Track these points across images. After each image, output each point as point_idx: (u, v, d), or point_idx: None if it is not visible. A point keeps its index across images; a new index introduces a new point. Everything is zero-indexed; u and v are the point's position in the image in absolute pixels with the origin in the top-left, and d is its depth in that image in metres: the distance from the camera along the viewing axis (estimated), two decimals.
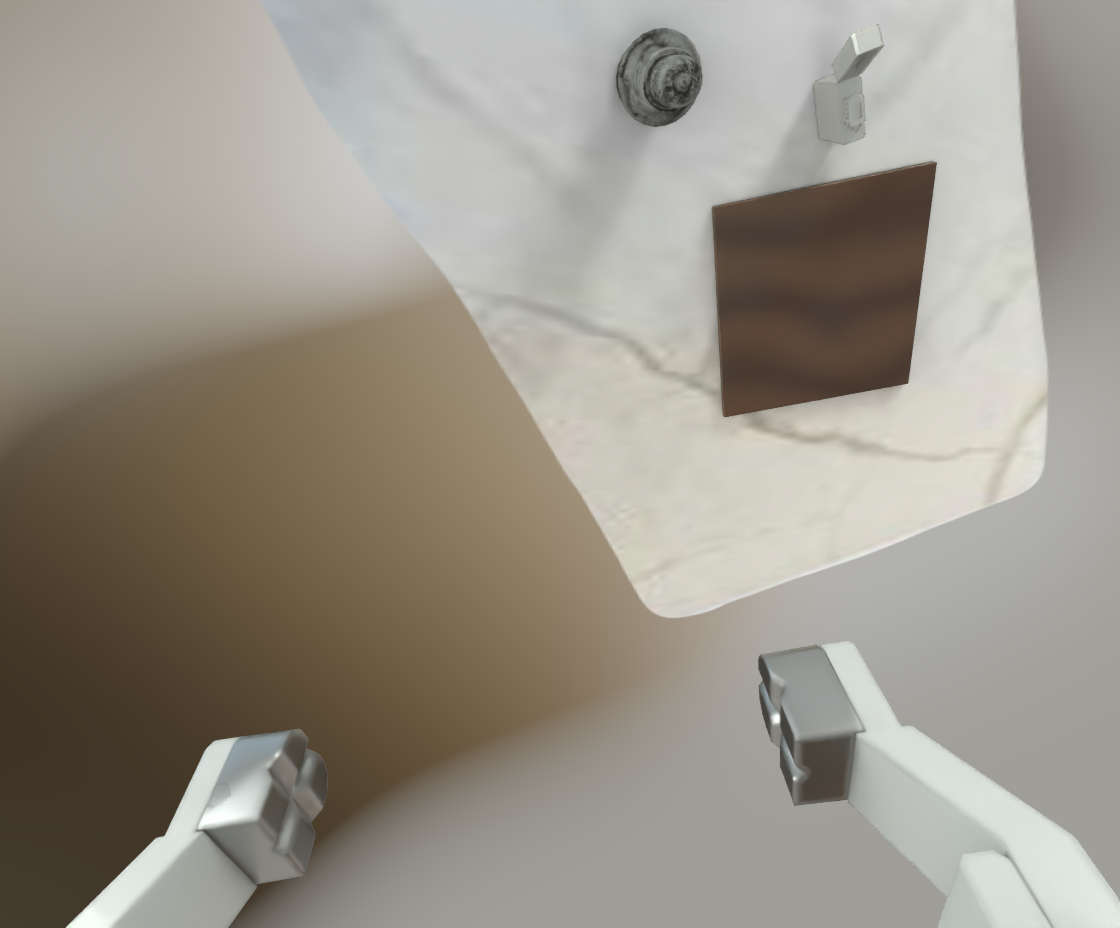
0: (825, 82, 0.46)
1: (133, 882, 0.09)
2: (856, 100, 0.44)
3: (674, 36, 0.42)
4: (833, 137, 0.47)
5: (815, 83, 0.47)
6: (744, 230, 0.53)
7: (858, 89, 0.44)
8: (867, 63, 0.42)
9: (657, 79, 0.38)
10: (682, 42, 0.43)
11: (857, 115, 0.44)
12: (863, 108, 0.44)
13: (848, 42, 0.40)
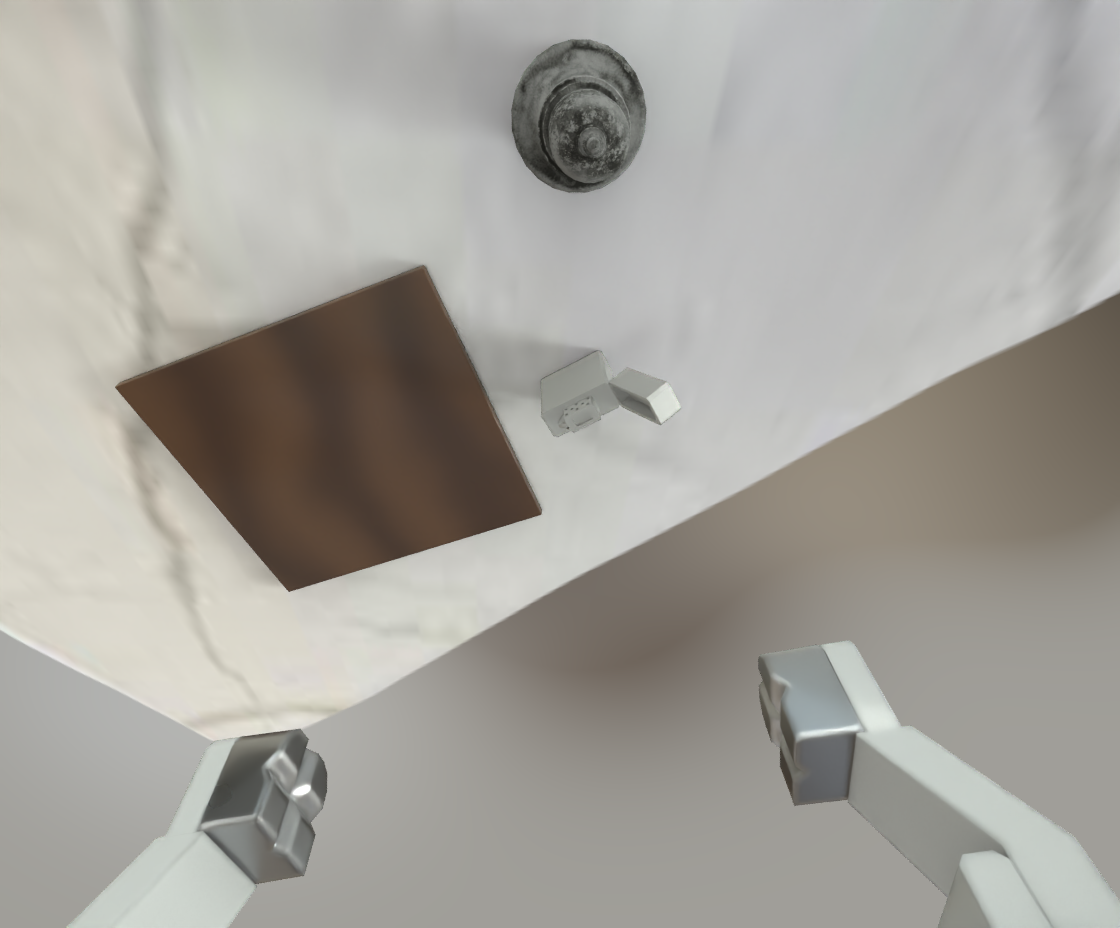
0: (604, 365, 0.35)
1: (133, 882, 0.09)
2: (593, 413, 0.33)
3: (637, 129, 0.27)
4: (546, 399, 0.35)
5: (599, 353, 0.37)
6: (405, 323, 0.35)
7: (604, 409, 0.34)
8: (635, 410, 0.33)
9: (588, 93, 0.21)
10: (630, 145, 0.28)
11: (577, 421, 0.34)
12: (586, 424, 0.34)
13: (657, 382, 0.31)
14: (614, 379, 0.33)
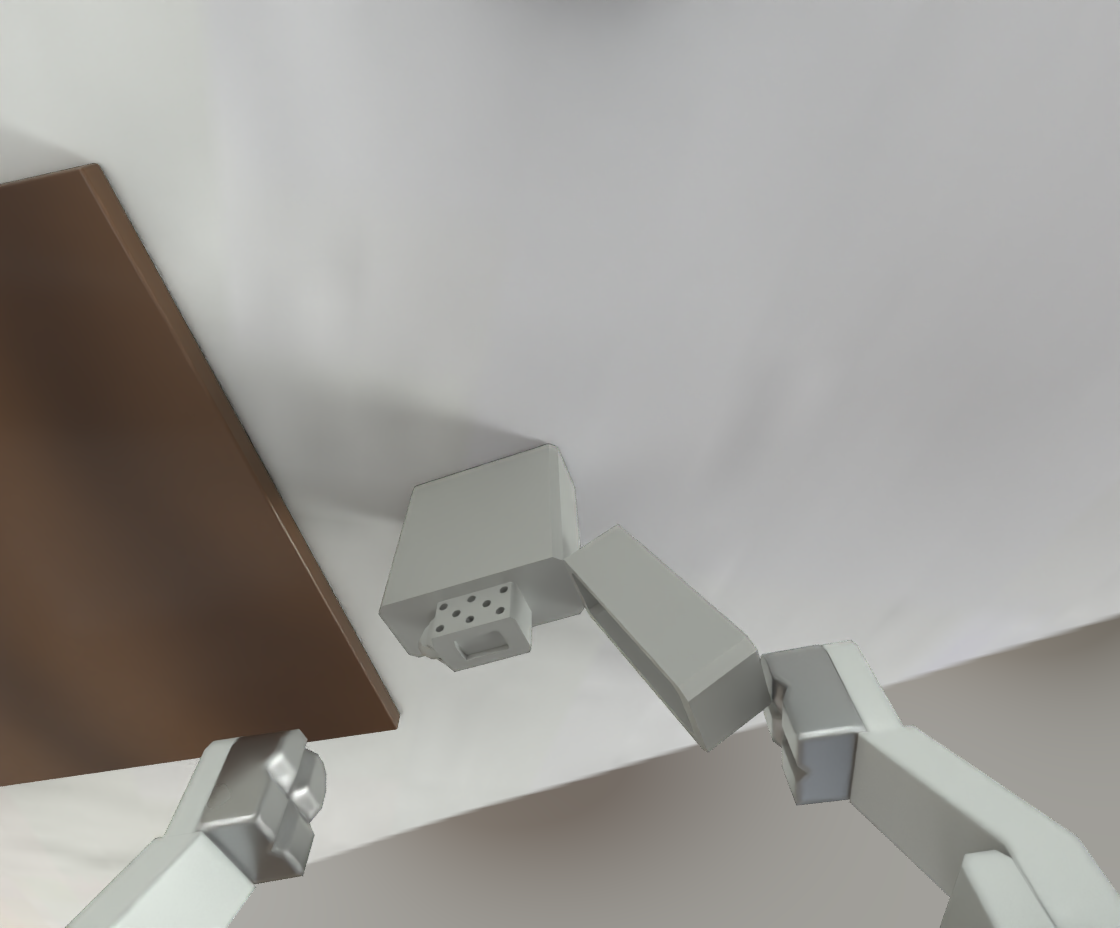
0: (558, 492, 0.14)
1: (132, 882, 0.09)
2: (513, 636, 0.12)
3: None
4: (405, 557, 0.14)
5: (552, 451, 0.16)
6: (50, 315, 0.13)
7: (544, 614, 0.13)
8: (627, 654, 0.12)
9: None
10: None
11: (467, 646, 0.13)
12: (490, 654, 0.13)
13: (716, 624, 0.10)
14: (580, 555, 0.12)
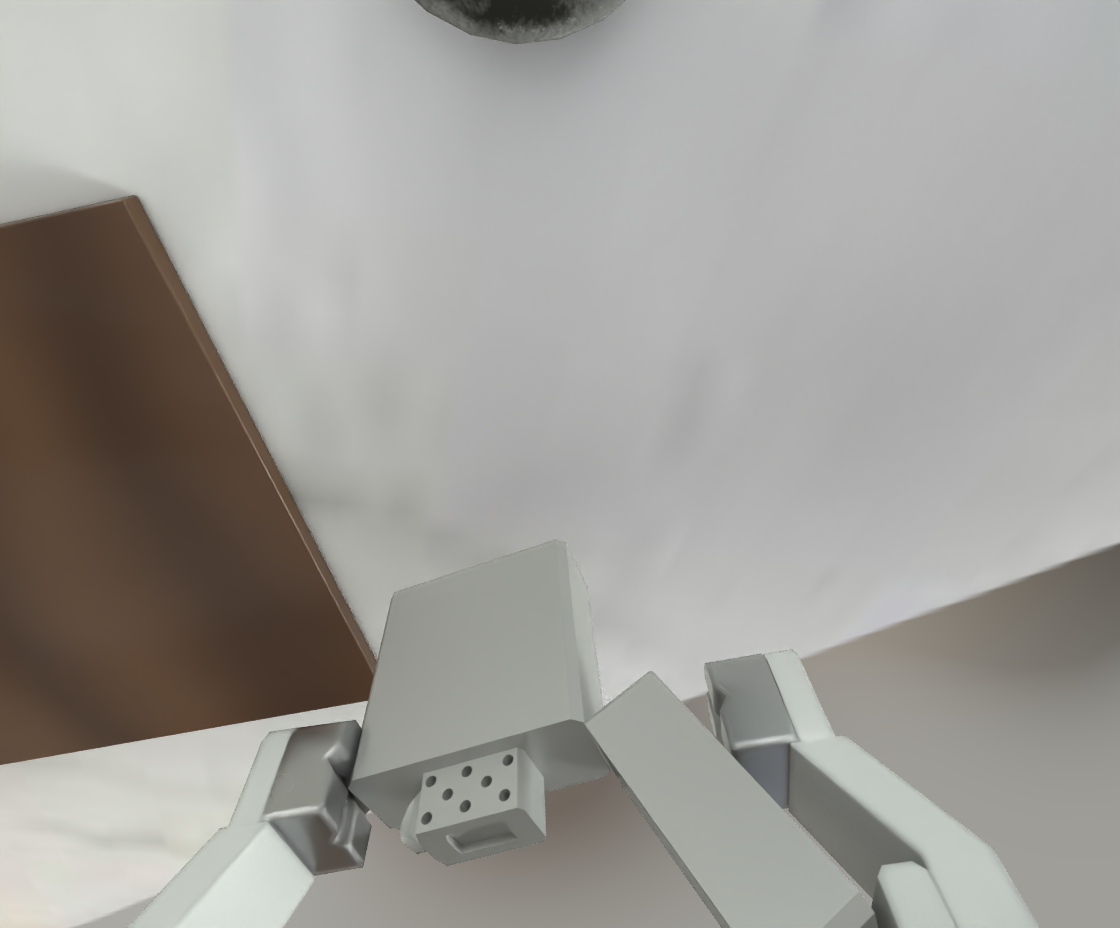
0: (571, 611, 0.12)
1: (201, 872, 0.09)
2: (522, 825, 0.10)
3: None
4: (382, 703, 0.11)
5: (560, 550, 0.13)
6: (91, 321, 0.16)
7: (560, 778, 0.10)
8: (672, 853, 0.09)
9: None
10: None
11: (463, 836, 0.10)
12: (493, 842, 0.10)
13: (809, 862, 0.07)
14: (607, 720, 0.09)
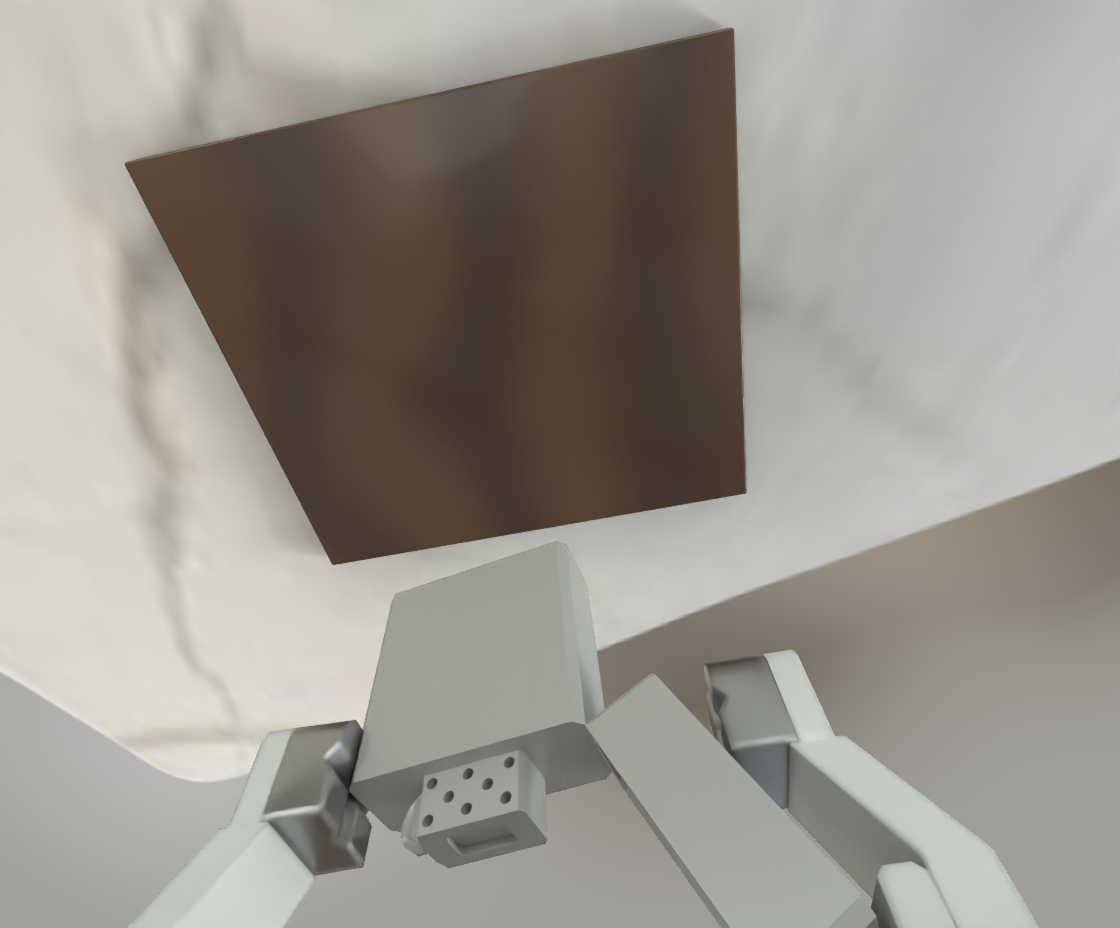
0: (572, 613, 0.12)
1: (201, 872, 0.09)
2: (524, 827, 0.10)
3: None
4: (383, 705, 0.11)
5: (561, 552, 0.13)
6: (667, 132, 0.21)
7: (561, 781, 0.10)
8: (674, 855, 0.09)
9: None
10: None
11: (464, 838, 0.10)
12: (493, 845, 0.10)
13: (810, 866, 0.07)
14: (608, 723, 0.09)
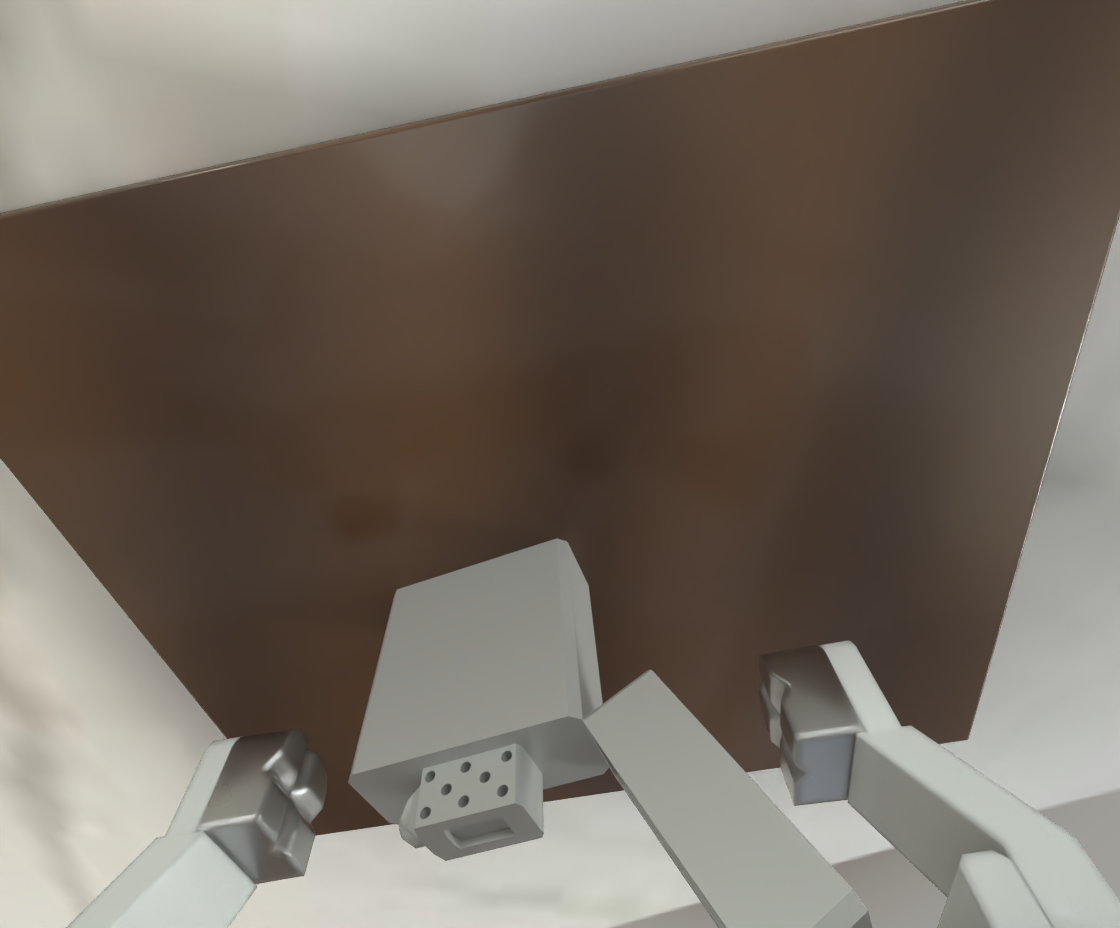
0: (571, 610, 0.12)
1: (133, 882, 0.09)
2: (520, 821, 0.10)
3: None
4: (383, 698, 0.11)
5: (561, 549, 0.13)
6: (987, 184, 0.10)
7: (559, 775, 0.11)
8: (669, 850, 0.09)
9: None
10: None
11: (461, 831, 0.10)
12: (491, 838, 0.10)
13: (802, 860, 0.07)
14: (605, 718, 0.09)
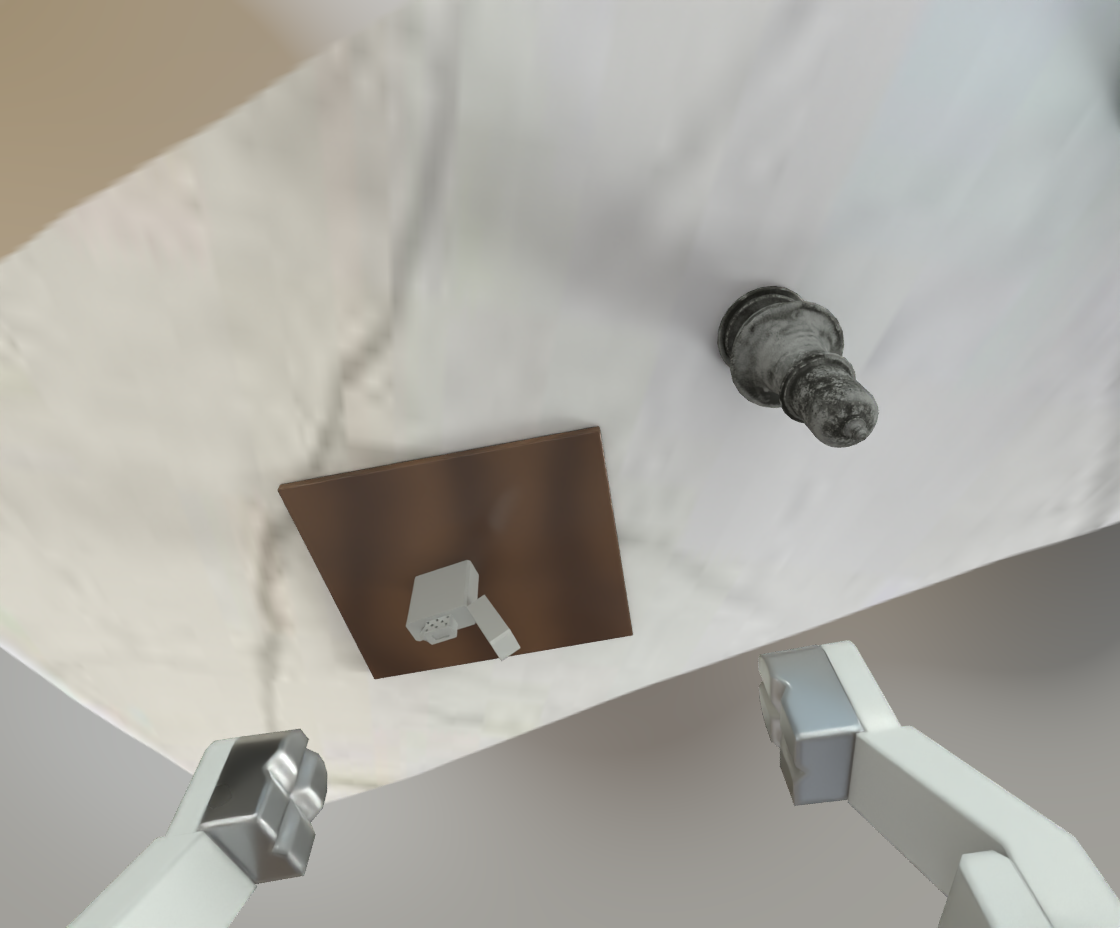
0: (468, 581, 0.40)
1: (133, 882, 0.09)
2: (450, 632, 0.38)
3: None
4: (414, 606, 0.40)
5: (468, 563, 0.42)
6: (569, 471, 0.39)
7: (462, 624, 0.39)
8: (486, 636, 0.38)
9: (857, 389, 0.26)
10: None
11: (435, 635, 0.38)
12: (443, 638, 0.39)
13: (502, 625, 0.36)
14: (471, 605, 0.38)
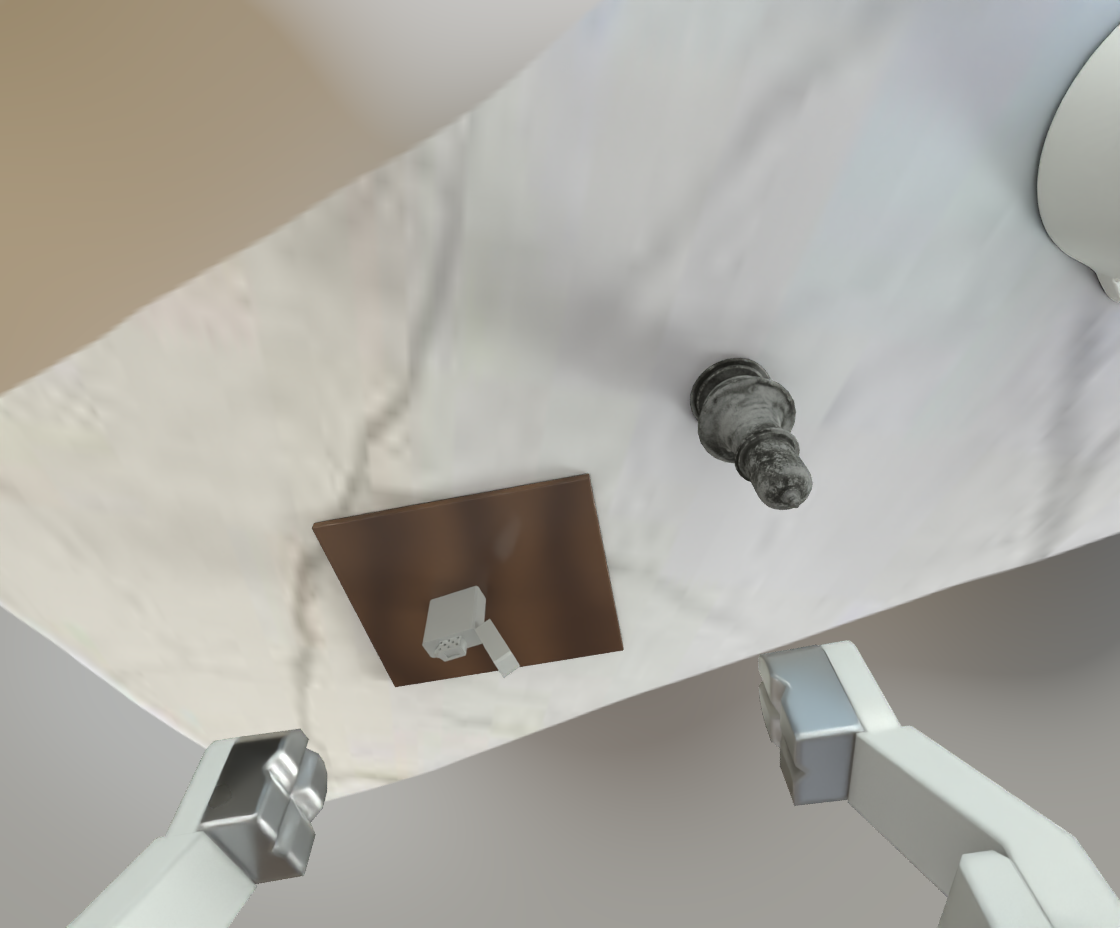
0: (476, 605, 0.46)
1: (133, 882, 0.09)
2: (460, 651, 0.44)
3: None
4: (429, 627, 0.46)
5: (476, 589, 0.48)
6: (563, 511, 0.44)
7: (471, 644, 0.45)
8: None
9: (793, 464, 0.31)
10: None
11: (448, 654, 0.45)
12: (454, 656, 0.45)
13: (504, 647, 0.42)
14: (478, 628, 0.44)
